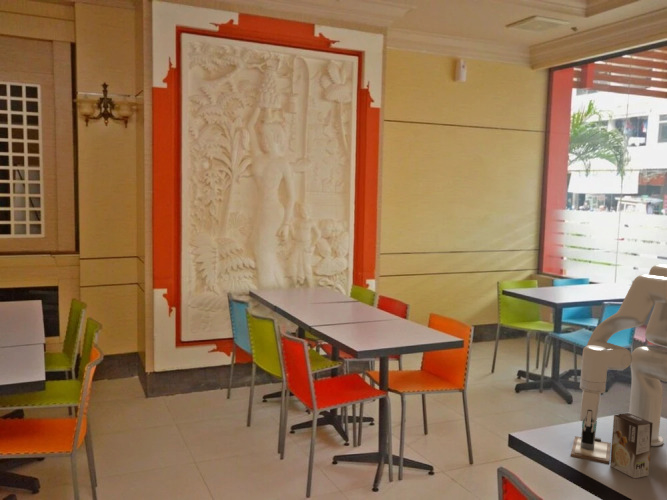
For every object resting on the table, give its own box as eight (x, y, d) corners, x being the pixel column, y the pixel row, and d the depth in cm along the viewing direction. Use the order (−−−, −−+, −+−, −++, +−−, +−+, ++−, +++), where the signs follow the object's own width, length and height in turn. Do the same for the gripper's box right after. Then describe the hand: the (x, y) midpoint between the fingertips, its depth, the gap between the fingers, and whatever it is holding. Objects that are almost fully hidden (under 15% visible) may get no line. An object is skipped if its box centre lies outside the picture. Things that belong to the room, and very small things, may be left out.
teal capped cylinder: (580, 443, 199) (583, 416, 198) (594, 446, 197) (597, 419, 196) (579, 447, 195) (582, 420, 194) (594, 451, 193) (596, 423, 193)
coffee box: (649, 475, 180) (654, 422, 179) (634, 479, 178) (638, 425, 176) (623, 462, 189) (628, 412, 187) (608, 465, 186) (612, 414, 185)
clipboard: (575, 438, 206) (575, 433, 206) (610, 445, 202) (611, 440, 201) (570, 455, 192) (571, 450, 192) (609, 463, 187) (609, 458, 187)
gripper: (582, 376, 203) (577, 429, 205) (577, 389, 188) (573, 447, 190) (606, 380, 200) (602, 434, 202) (604, 394, 185) (599, 452, 187)
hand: (588, 440), depth 196 cm, fingers closed on teal capped cylinder, 4 cm apart
